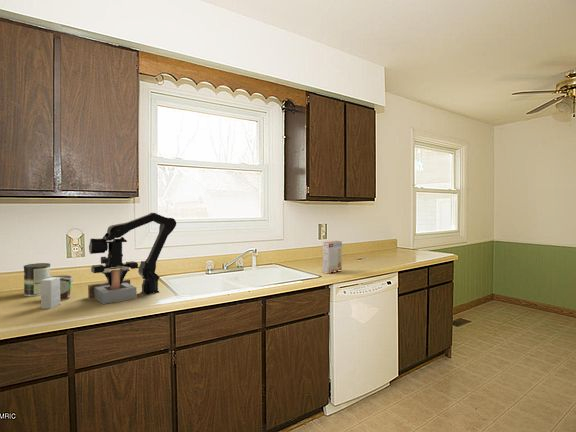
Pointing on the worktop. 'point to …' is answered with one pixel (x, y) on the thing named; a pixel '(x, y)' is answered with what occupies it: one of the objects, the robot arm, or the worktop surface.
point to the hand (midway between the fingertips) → (115, 285)
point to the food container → (64, 286)
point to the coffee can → (35, 278)
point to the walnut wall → (91, 287)
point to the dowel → (115, 279)
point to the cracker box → (332, 256)
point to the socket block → (114, 293)
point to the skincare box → (50, 292)
